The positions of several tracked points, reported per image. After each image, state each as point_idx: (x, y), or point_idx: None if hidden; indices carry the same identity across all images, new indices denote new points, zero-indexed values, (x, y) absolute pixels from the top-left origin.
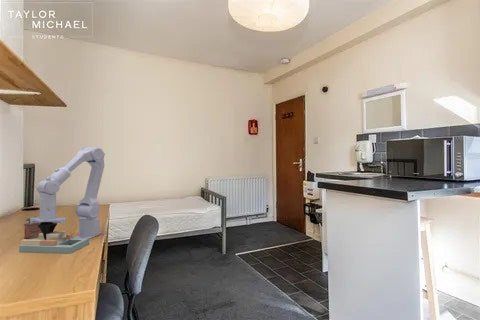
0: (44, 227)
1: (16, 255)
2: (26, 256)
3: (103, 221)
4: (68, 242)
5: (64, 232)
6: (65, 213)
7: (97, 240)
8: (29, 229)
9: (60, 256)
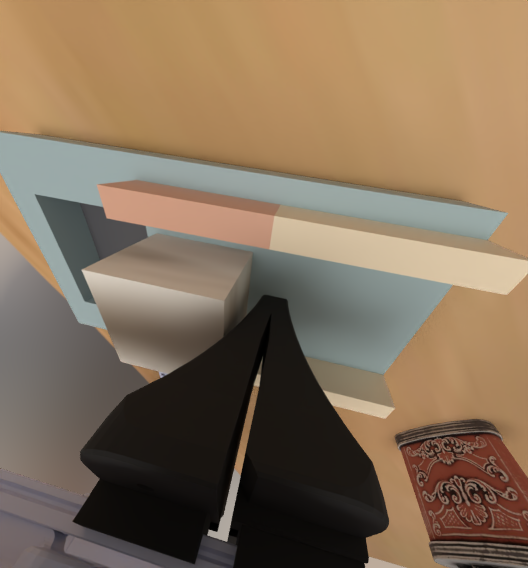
0: (225, 405)
1: (460, 85)
2: (335, 45)
3: None
4: None
5: (116, 343)
6: (410, 560)
7: None
8: (506, 497)
9: (39, 51)
